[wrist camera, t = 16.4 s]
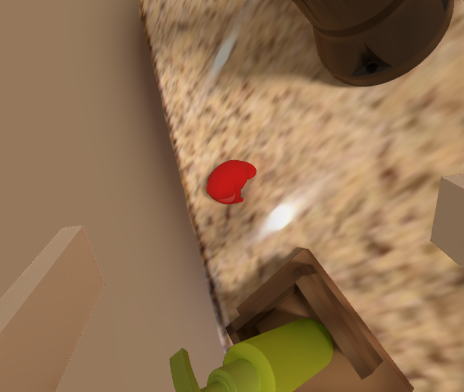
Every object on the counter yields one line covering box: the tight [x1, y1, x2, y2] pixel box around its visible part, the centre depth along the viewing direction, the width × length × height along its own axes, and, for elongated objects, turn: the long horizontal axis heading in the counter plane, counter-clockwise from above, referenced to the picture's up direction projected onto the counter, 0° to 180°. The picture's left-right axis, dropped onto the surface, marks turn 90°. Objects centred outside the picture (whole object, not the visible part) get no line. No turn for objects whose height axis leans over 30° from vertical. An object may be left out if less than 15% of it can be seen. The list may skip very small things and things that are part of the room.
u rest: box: [226, 249, 414, 392], centre depth 37 cm, size 18×14×6 cm
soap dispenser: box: [170, 318, 333, 392], centre depth 30 cm, size 6×7×20 cm
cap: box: [206, 160, 256, 204], centre depth 48 cm, size 8×6×6 cm
